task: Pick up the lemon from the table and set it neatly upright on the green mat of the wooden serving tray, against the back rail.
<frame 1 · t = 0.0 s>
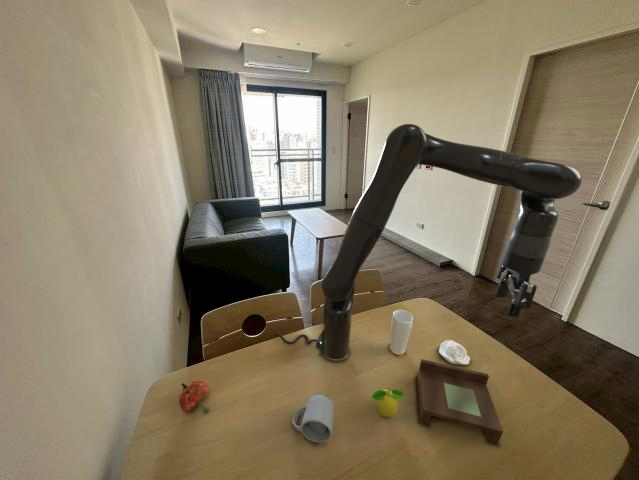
hand: (505, 305, 66), 29 cm above the table, tool pointing down, fingers open, 8 cm apart
wooden serving tray: (452, 407, 71), on the table
ceramic mug: (313, 426, 66), on the table
lemon: (385, 413, 69), on the table
red rounded piece: (197, 405, 70), on the table
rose: (453, 356, 87), on the table
drinking glass: (397, 350, 90), on the table
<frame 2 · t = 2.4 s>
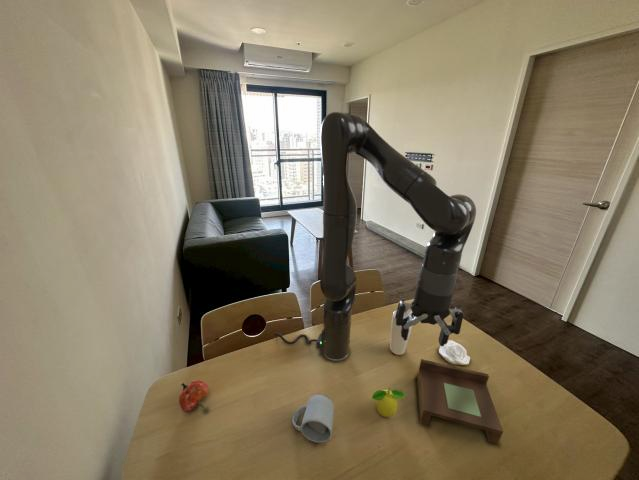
hand: (422, 340, 62), 23 cm above the table, tool pointing down, fingers open, 8 cm apart
nothing on the table moved.
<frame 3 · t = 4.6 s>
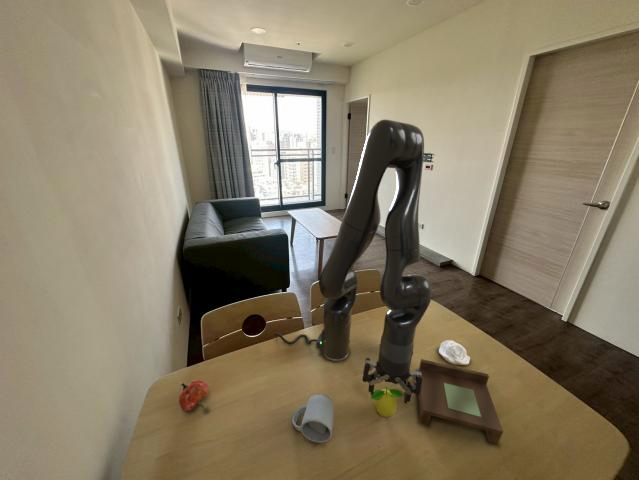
hand: (388, 396, 67), 7 cm above the table, tool pointing down, fingers open, 8 cm apart
lemon: (385, 412, 69), on the table, touching gripper
everything else where it was.
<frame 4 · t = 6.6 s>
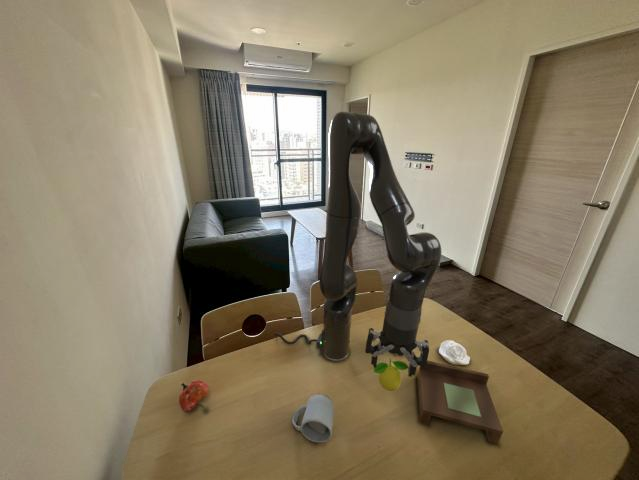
hand: (391, 369, 63), 16 cm above the table, tool pointing down, fingers closed on lemon, 8 cm apart
lemon: (389, 387, 65), point 10 cm above the table, touching gripper
everything else where it was.
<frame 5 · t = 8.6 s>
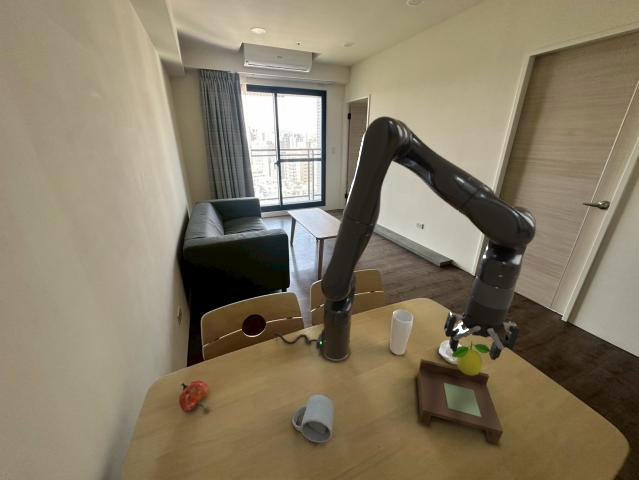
hand: (472, 353, 61), 21 cm above the table, tool pointing down, fingers closed on lemon, 8 cm apart
lemon: (467, 373, 64), point 15 cm above the table, touching gripper
everything else where it was.
when the fingers open (12 cm above the table, at t = 11.5 s): lemon stays where it is, resting on wooden serving tray.
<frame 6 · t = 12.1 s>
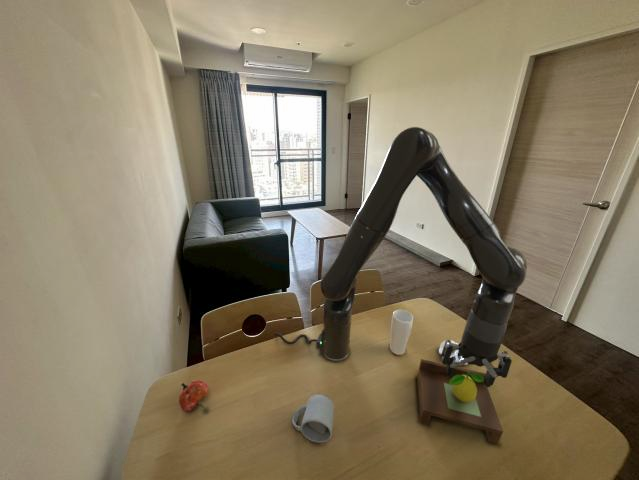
hand: (467, 379, 65), 12 cm above the table, tool pointing down, fingers open, 8 cm apart
lemon: (462, 399, 67), point 5 cm above the table, touching wooden serving tray
everything else where it was.
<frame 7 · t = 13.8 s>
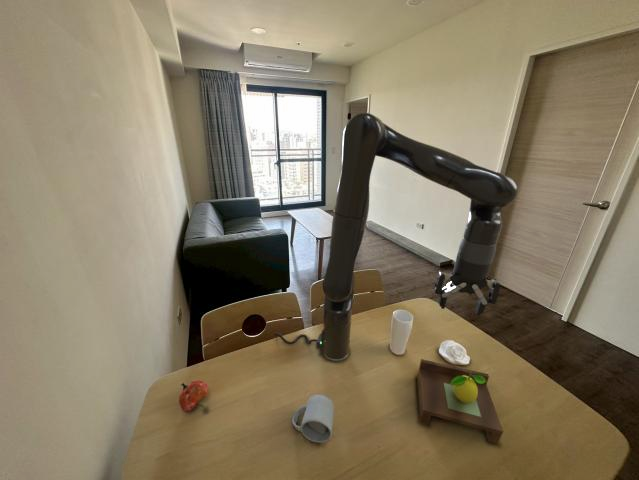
hand: (459, 310, 68), 27 cm above the table, tool pointing down, fingers open, 8 cm apart
nothing on the table moved.
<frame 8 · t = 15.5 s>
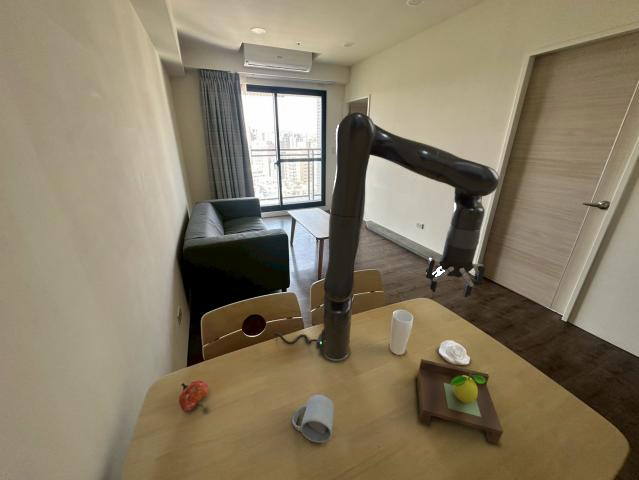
hand: (448, 293, 73), 28 cm above the table, tool pointing down, fingers open, 8 cm apart
nothing on the table moved.
at the end: lemon inside the target area (0.3 cm from its centre), point 5.0 cm above the table; lemon tilted 0° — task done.
